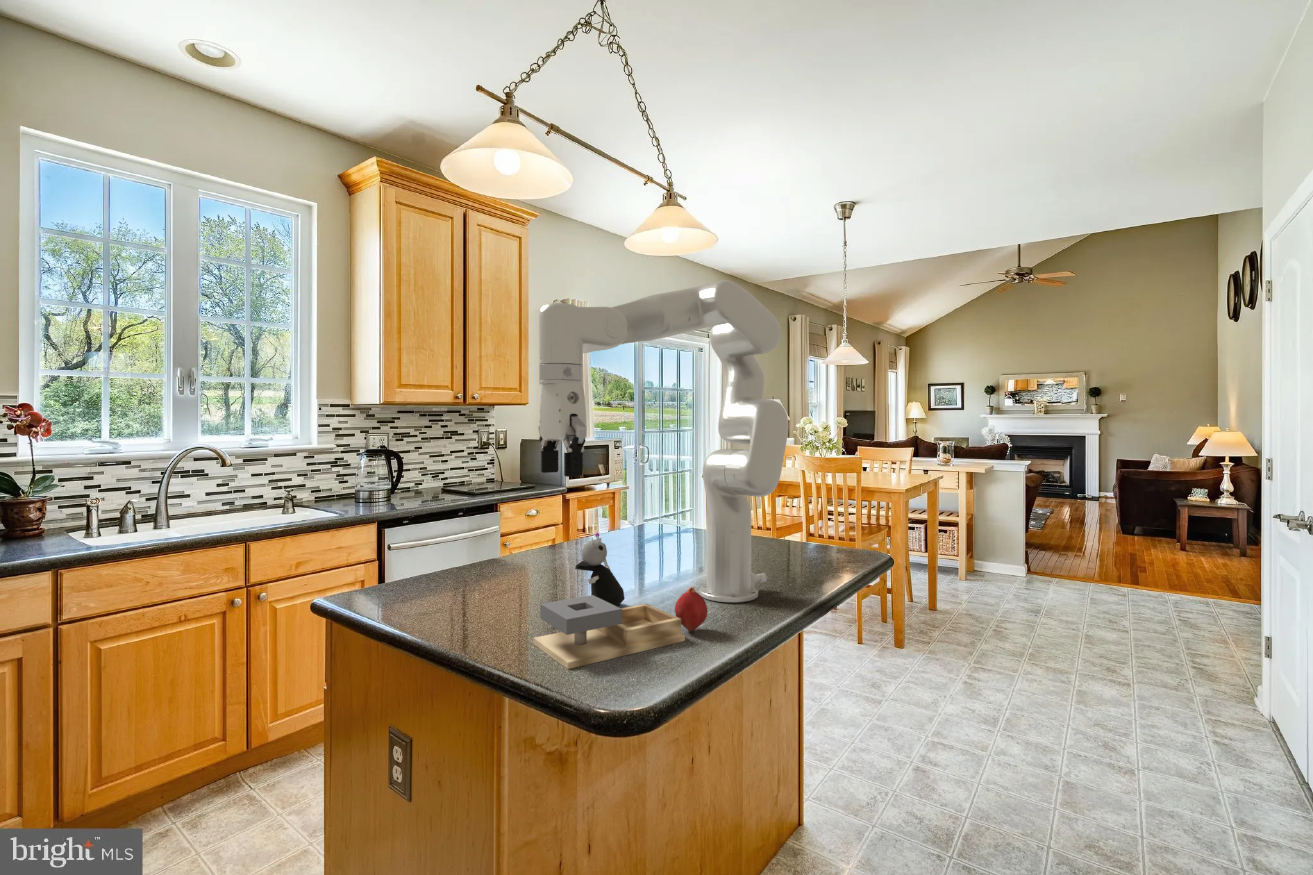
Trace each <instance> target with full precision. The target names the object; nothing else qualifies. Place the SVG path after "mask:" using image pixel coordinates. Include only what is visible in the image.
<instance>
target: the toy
mask: <svg viewBox="0 0 1313 875" xmlns="http://www.w3.org/2000/svg"><path fill="white" fill-rule="evenodd" d="M594 536H595V539H594V538H593V537H591V539H590V540H587V541H586V542H585V543H584V544H583V546H582V548H581V551H580V554H581V558H582V561H580V562H579V563H576V564H575V568H574V569H575V570H580V571H587V572H592V573H591V575H590V578H588V579H587V581H588V584H589V585H590V595H594V596H596V597H598V598H600V599H602V600H604V601H606V602H608V603H610V604H612V605H615V606H617V607H619V606H620V605H621V603H623V601H624V600H625V592H624V589H623V587H622V585H621V584H620V583H619V581H618V580H617V578H616V576H615V575H614V574H613V572H612V570H611V568H610V565H609V564H608V561H607V554H608V549H607V545H606V544H605V543H603V541H602V537H600V533H595V535H594Z"/></svg>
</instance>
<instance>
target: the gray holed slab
mask: <svg viewBox="0 0 1313 875" xmlns="http://www.w3.org/2000/svg"><path fill="white" fill-rule="evenodd" d="M621 608H622V607H621ZM621 608H620V607H619V606H615V605H612V604H610V603H608V602H606V601H604V600H602V599H600V598H598V597H596V596H594V595H591V594H590V595H585V596H580V597H574V598H568V599H562V600H556V601H551V602H550V601H549V602H544V603H540V610H539V612H540V616H539V617H540V619H541V620H542V621H544V622H545V623H547V624H549V625H550V626H551V627H554V628H555V629H556V630H558V631H559V632H563V633H564V634H566V635H569V634H574V633H579V632H584V631H589V630H593V629H598V628H603V627H608V626H613V625H618V624H622V609H621Z"/></svg>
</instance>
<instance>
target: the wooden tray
mask: <svg viewBox="0 0 1313 875" xmlns="http://www.w3.org/2000/svg"><path fill="white" fill-rule="evenodd" d="M621 609H622V624H618V625H613V626H608V627H603V628H598V629H593V630H589V631H584V632H579V633H574V634H569V635H566V634H564V633H563V632H561V631H559V632H556V633H552V634H550V633H549V634H546V635H545V634H544V635H541V636H536V637H532V642H533V643H532V644H533V645H534V646H535V647H536V648H538V649H539V650H541V651H543V652H544V653H545V654H547V655H548V656H549V658H550V657H551V659H553V660H555V661H556V662H557V663H559V664H560V665H562V667H564V668H565V669H567V670H570V669H574V668H577V667H582V666H586V665H591V664H594V663H598V662H603V661H608V660H611V659H616V658H620V657H624V656H628V655H632V654H636V653H640V652H644V651H648V650H653V649H658V648H662V647H665V646H669V645H670V646H671V645H674V644H678V643H682V642H686V641H685V640H686V635H685V634H683V633H682V624H681V619H680V618H678V617H676V615H673V614H671V613H668V612H666V611H664V610H662V609H659V608H657V607H656V606H652V605H650V604H648V603H643V604H638V605H632V606H626V607H621Z"/></svg>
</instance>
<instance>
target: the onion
mask: <svg viewBox="0 0 1313 875" xmlns="http://www.w3.org/2000/svg"><path fill="white" fill-rule="evenodd" d="M708 613H709V612H708V606H707V603H706V601H705V598H704V597H702V596H701V595H700V593H698V592H697V591H696V590H695V587H694V586H690V587H689V588H688V589H687V591H685V592H684V593H682V595H680V596H679V597H678V599H677V600H676V603H675V605H674V614H675V616H676V617H678V618H680V619H681V626H683V627H684V628H685V629H686V630H687V631H688V632H695V630H696V629H698V628H699V627H700V626H701V625H702V624H703V623H704V622H705V620H706V619H707V617H708Z"/></svg>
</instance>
